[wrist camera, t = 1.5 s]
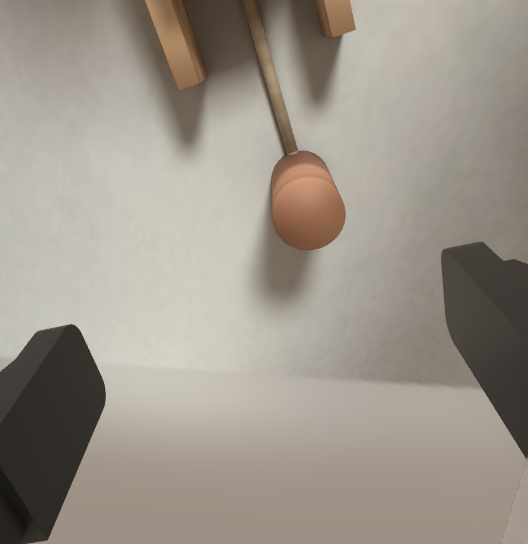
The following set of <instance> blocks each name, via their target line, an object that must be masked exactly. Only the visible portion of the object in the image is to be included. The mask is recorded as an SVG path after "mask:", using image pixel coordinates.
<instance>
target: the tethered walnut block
mask: <svg viewBox="0 0 528 544" xmlns="http://www.w3.org/2000/svg"><path fill="white" fill-rule="evenodd" d="M242 3H243V6H244V10H245V13H246V16H247V20H248V23H249V27H250V30H251V33H252V37H253V40H254V44H255V47H256V50H257V54H258V57H259V61H260V64H261V67H262V71H263V74H264V78H265V81H266V84H267V88H268V91H269V95H270V98H271V101H272V105H273V108H274V112H275V115H276V118H277V122H278V125H279V129H280V132H281V135H282V139H283V142H284V146H285V149H286V152H287V155H285V156H284V157H282V158H281V159H280V160H279V161H278V162H277V164H276V165H275V167H274V169H273V172H272V179H271V183H272V209H273V223H274V227H275V230H276V232H277V234H278V235H279V237H280V238H281V239H282V240H283V241H284V242H285V243H287V244H288V245H290V246H292V247H294V248H297V249H301V250H315V249H319V248H322V247H324V246H326V245H328V244H329V243H331V242H332V241H333V240H334V239H335V238H336V237H337V236H338V235H339V234H340V232H341V230H342V228H343V226H344V222H345V216H346V215H345V206H344V203H343V201H342V199H341V196H340V194H339V192H338V190H337V188H336V185H335V183H334V181H333V179H332V177H331V174H330V172H329V170H328V168H327V166H326V164H325V162H324V161H323V160H322V159H321V158H320V157H319V156H317V155H316V154H314V153H312V152H308V151H298V149H297V146H296V142H295V139H294V135H293V132H292V128H291V125H290V121H289V118H288V114H287V111H286V107H285V104H284V100H283V97H282V93H281V90H280V86H279V82H278V79H277V75H276V72H275V68H274V65H273V61H272V58H271V54H270V51H269V47H268V44H267V40H266V37H265V33H264V30H263V26H262V23H261V19H260V15H259V12H258V8H257V5H256V1H255V0H242Z"/></svg>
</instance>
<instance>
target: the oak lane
mask: <svg viewBox="0 0 528 544" xmlns="http://www.w3.org/2000/svg"><path fill="white" fill-rule="evenodd" d="M145 2H146V4H147V7H148V10H149V12H150V15H151V18H152V20H153V23H154V26H155V28H156V31H157V34H158V37H159V39H160V42H161V45H162V47H163V50H164V53H165V55H166V58H167V61H168V64H169V66H170V69H171V72H172V74H173V77H174V80H175V82H176V85H177V88H178V90H182V89H185V88H188V87H191V86H194V85H196V84H199V83H201V82H202V81H203V80H205V79H206V78H207V77H208V75H207V72H206V69H205V66H204V63H203V60H202V57H201V54H200V51H199V48H198V46H197V43H196V40H195V37H194V34H193V31H192V28H191V25H190V22H189V19H188V16H187V13H186V10H185V7H184V5H183V2H182V0H145ZM315 2H316V6H317V10H318V15H319V19H320V23H321V27H322V32H323V36H324V37H331V38H333V37H336V36H339V35H342V34H345V33H348V32H350V31H353V30H356V28H355V24H354V19H353V14H352V9H351V4H350V0H315Z"/></svg>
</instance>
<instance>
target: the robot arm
mask: <svg viewBox="0 0 528 544" xmlns="http://www.w3.org/2000/svg"><path fill="white" fill-rule="evenodd" d="M441 263H442V276H443V290H444V303H445V315H446V321H447V326H448V329H449V333H450V335H451V338H452V340H453V342H454V344H455V346H456V347H457V349H458V350H459V352H460V354H461V355H462V357H463V358H464V360H465V362H466V363H467V365H468V366H469V368H470V370H471V371H472V373H473V374H474V376H475V378H476V379H477V381H478V382H479V384H480V386H481V387H482V389H483V390H484V392H485V394H486V395H487V397H488V398H489V400H490V402H491V403H492V405H493V406H494V408H495V410H496V411H497V413H498V414H499V416H500V418H501V419H502V421H503V422H504V424H505V426H506V427H507V429H508V430H509V432H510V434H511V435H512V437H513V438H514V440H515V441H516V443H517V445H518V446H519V448H520V450H521V451H522V453H523V454H524V456H525V457H526V459H527V461H526V464H525V467H524V471H523V474H522V477H521V480H520V483H519V486H518V489H517V493H516V496H515V499H514V502H513V505H512V508H511V511H510V515H509V518H508V521H507V524H506V527H505V530H504V534H503V536H502V540H501V543H500V544H528V264H526V263H523V262H520V261H518V260H515V259H512V260H507V261H503V260H502V259H501V258H499V257H498V256H497V255H496V254H495V253H494V252H493V251H492V250H491V249H490V248H489V247H488V246H487V245H486V244H484V243H483V242H476V243H471V244H466V245H461V246H456V247H451V248H447V249H444V250H443V251H442V256H441ZM105 399H106V392H105V385H104V382H103V379H102V376H101V374H100V372H99V370H98V368H97V366H96V363H95V361H94V359H93V357H92V355H91V353H90V350H89V348H88V346H87V344H86V342H85V340H84V338H83V335H82V333H81V332H80V330H79V329H78V328H77V327H76V326H75V325H72V324H70V325H65V326H60V327H55V328H50V329H45V330H41V331H38V332H36V333H35V334H34V336H33V337H32V338H31V339H30V341H29V342H28V343H27V345H26V346H25V347H24V349H23V350H22V351H21V353H20V354H19V355H18V357H17V358H16V359H15V360H14V361H13V362H12V363H10V364H9V365H8V366H7V367H6V368H4V369H3V370H2V371H1V372H0V544H27V543H34V542H40V541H46V540H48V538H49V536H50V533H51V531H52V529H53V526H54V524H55V522H56V519H57V517H58V515H59V512H60V510H61V507H62V505H63V503H64V500H65V498H66V496H67V493H68V491H69V489H70V486H71V484H72V481H73V479H74V477H75V475H76V472H77V470H78V467H79V465H80V462H81V460H82V458H83V456H84V453H85V451H86V449H87V446H88V444H89V442H90V439H91V437H92V434H93V432H94V430H95V427H96V425H97V423H98V420H99V418H100V416H101V413H102V411H103V408H104V406H105Z"/></svg>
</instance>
